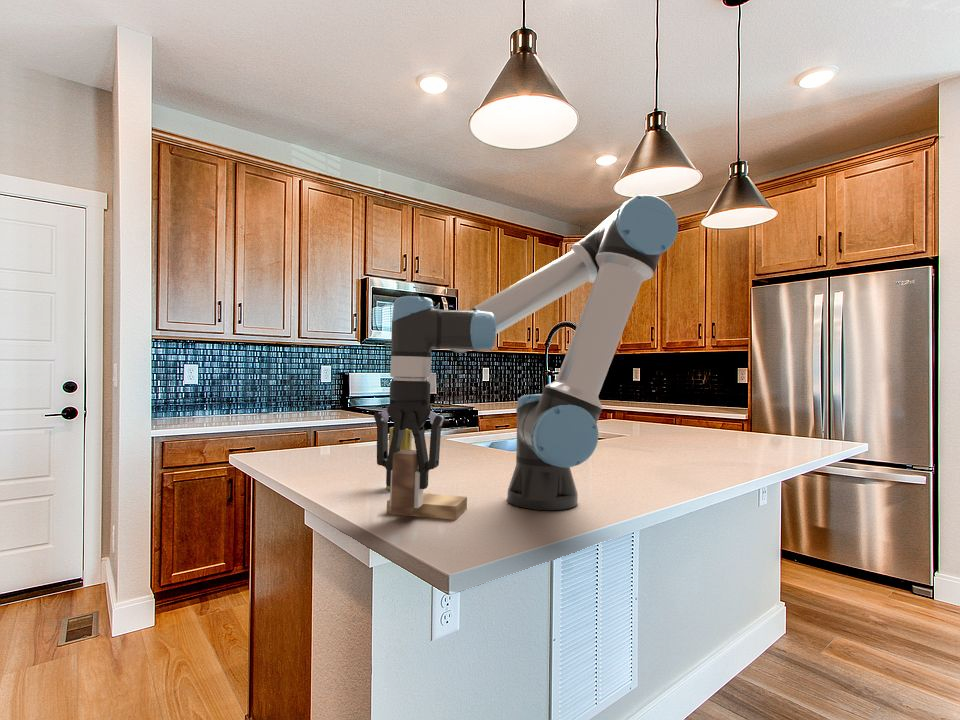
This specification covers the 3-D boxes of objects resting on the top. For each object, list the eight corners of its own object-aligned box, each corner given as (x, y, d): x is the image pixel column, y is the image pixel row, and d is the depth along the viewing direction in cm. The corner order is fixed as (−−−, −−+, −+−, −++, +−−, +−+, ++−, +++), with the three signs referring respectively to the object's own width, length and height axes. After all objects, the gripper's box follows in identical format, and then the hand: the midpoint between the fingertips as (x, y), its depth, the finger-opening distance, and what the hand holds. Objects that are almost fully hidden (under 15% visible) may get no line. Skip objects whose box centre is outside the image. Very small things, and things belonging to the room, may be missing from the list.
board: (466, 509, 107) (467, 496, 107) (455, 519, 99) (456, 506, 99) (402, 503, 110) (402, 491, 110) (386, 513, 102) (386, 500, 102)
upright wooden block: (429, 502, 105) (431, 447, 105) (411, 515, 95) (413, 454, 95) (410, 500, 106) (412, 446, 106) (390, 513, 96) (392, 453, 96)
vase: (405, 492, 120) (407, 429, 120) (381, 490, 122) (382, 428, 122) (416, 486, 126) (417, 427, 126) (392, 484, 128) (394, 426, 128)
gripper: (459, 381, 100) (455, 504, 100) (376, 378, 104) (372, 496, 104) (448, 381, 93) (444, 514, 92) (359, 378, 97) (355, 506, 96)
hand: (406, 504), depth 98 cm, fingers closed on upright wooden block, 4 cm apart
